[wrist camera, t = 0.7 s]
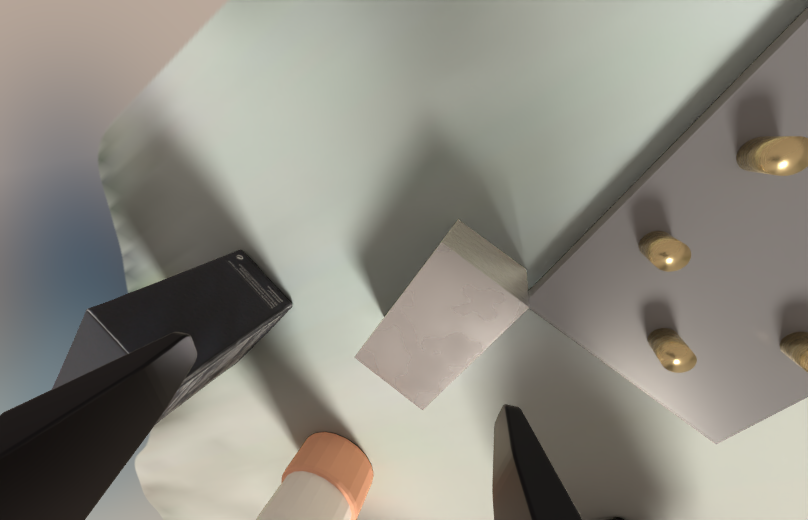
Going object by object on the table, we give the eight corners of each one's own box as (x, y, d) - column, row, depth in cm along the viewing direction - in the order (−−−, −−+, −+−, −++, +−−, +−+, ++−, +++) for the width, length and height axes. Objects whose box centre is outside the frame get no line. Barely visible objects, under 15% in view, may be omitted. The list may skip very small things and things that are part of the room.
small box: (239, 242, 26) (78, 303, 16) (296, 303, 26) (172, 398, 16) (188, 313, 30) (41, 391, 21) (237, 364, 31) (114, 464, 21)
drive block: (526, 268, 19) (529, 307, 15) (440, 358, 24) (422, 410, 19) (458, 218, 20) (441, 242, 15) (384, 316, 24) (354, 357, 19)
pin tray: (1198, 162, 11) (1396, 169, 9) (706, 430, 19) (735, 473, 17) (858, -45, 12) (950, -95, 9) (523, 296, 20) (523, 319, 17)
